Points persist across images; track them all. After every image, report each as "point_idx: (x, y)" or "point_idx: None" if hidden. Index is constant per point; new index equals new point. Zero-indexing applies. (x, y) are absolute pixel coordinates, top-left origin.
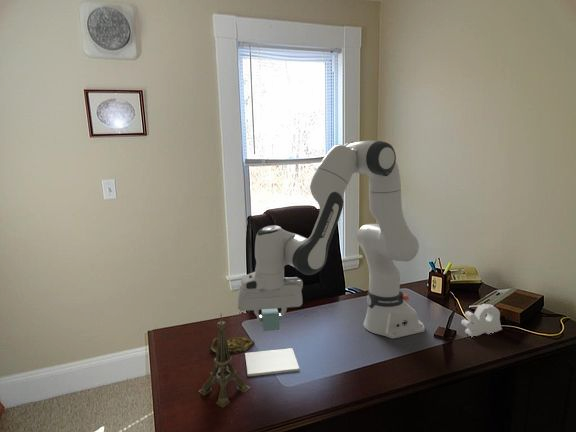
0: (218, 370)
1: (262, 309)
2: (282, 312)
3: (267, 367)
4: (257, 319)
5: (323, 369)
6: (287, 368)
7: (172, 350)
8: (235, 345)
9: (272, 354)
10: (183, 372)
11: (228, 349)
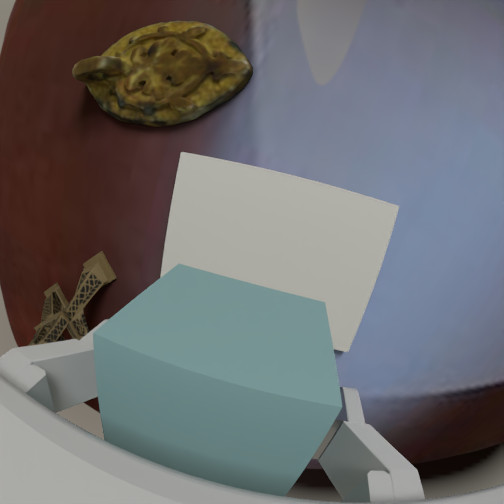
0: (50, 323)
1: (106, 356)
2: (340, 480)
3: None
4: (105, 320)
5: (417, 366)
6: None
7: (18, 70)
8: (155, 91)
9: (293, 215)
10: (19, 190)
11: (127, 107)
